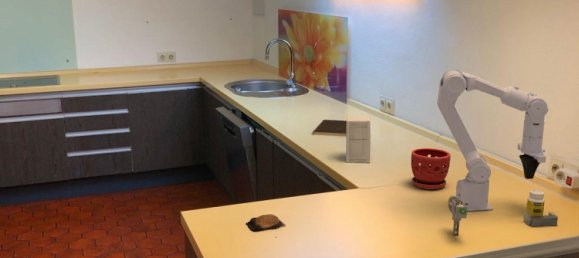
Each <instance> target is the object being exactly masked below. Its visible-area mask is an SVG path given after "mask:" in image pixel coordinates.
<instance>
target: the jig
mask: <svg viewBox="0 0 579 258" xmlns="http://www.w3.org/2000/svg"><path fill="white" fill-rule="evenodd" d="M558 218H559V217H558V215H556V214H555V213H554V212H553V211H549V212H548V215H546V214H545V215H543V216H530V215H529V214H528V213H526V212H525V213H523V223H525V224H526V225H528V226H529V227H530V226H531V228H535V227H536V228H537V227H538V228H539V227H541V228H542V227H555V226H556V227H557V226H558V220H559V219H558Z"/></svg>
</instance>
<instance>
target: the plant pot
mask: <svg viewBox="0 0 579 258" xmlns="http://www.w3.org/2000/svg"><path fill="white" fill-rule="evenodd" d="M450 164H451V153H450V152H449V151H446V150H443V149H439V148H432V147H431V148H427V147H425V148H424V147H423V148H421V147H420V148H416V149H413V150H412V151H411V156H410V166H411V168H410V169H411V172H412V174H413V177H412V178H411V182H412V184H413V185H414V186H416V187H418V188H419V189H424V190H437V189H441V188H444V186H446V184H447V180H446V177H447V176H448V174H449V169H450V166H451V165H450Z"/></svg>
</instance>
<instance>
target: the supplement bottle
mask: <svg viewBox="0 0 579 258" xmlns="http://www.w3.org/2000/svg"><path fill="white" fill-rule="evenodd" d="M544 197H545V192H544V191H542V190H540V189H530V190H529V195H528V197H527V201H526V210H525V213H528V214H529V215H530V216H544V208H545V198H544Z"/></svg>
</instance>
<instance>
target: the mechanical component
mask: <svg viewBox="0 0 579 258" xmlns="http://www.w3.org/2000/svg"><path fill="white" fill-rule="evenodd" d="M447 203H448V211H449V212H450V213H451V214H452V218H451V219H452V221H453V227H452V235H453V236H455V235H457V236H460V235H459V234H460V233H459V232H460V222H461V221H462V220H463V219H467V214H468V211H467V206H466V205H465V203H464V202H463V201H462V200H458V198H457V197H456V195H451V196H449V197H448V202H447Z"/></svg>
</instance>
